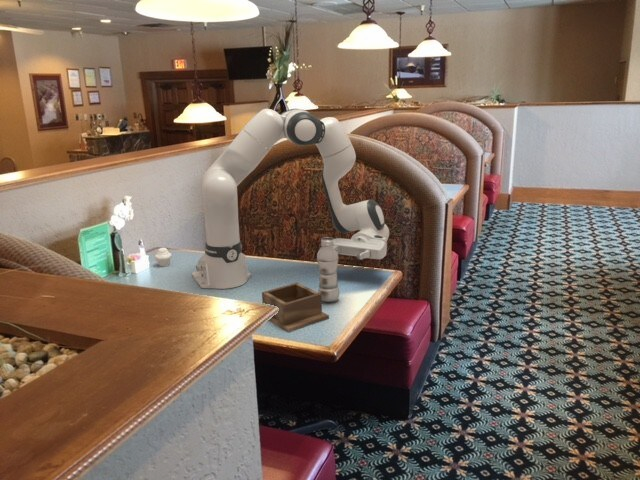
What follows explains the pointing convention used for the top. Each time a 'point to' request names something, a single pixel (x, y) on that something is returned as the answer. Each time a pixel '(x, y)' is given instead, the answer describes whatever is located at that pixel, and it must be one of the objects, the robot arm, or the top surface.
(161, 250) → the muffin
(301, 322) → the bottle caddy
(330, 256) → the plastic bottle
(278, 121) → the robot arm
